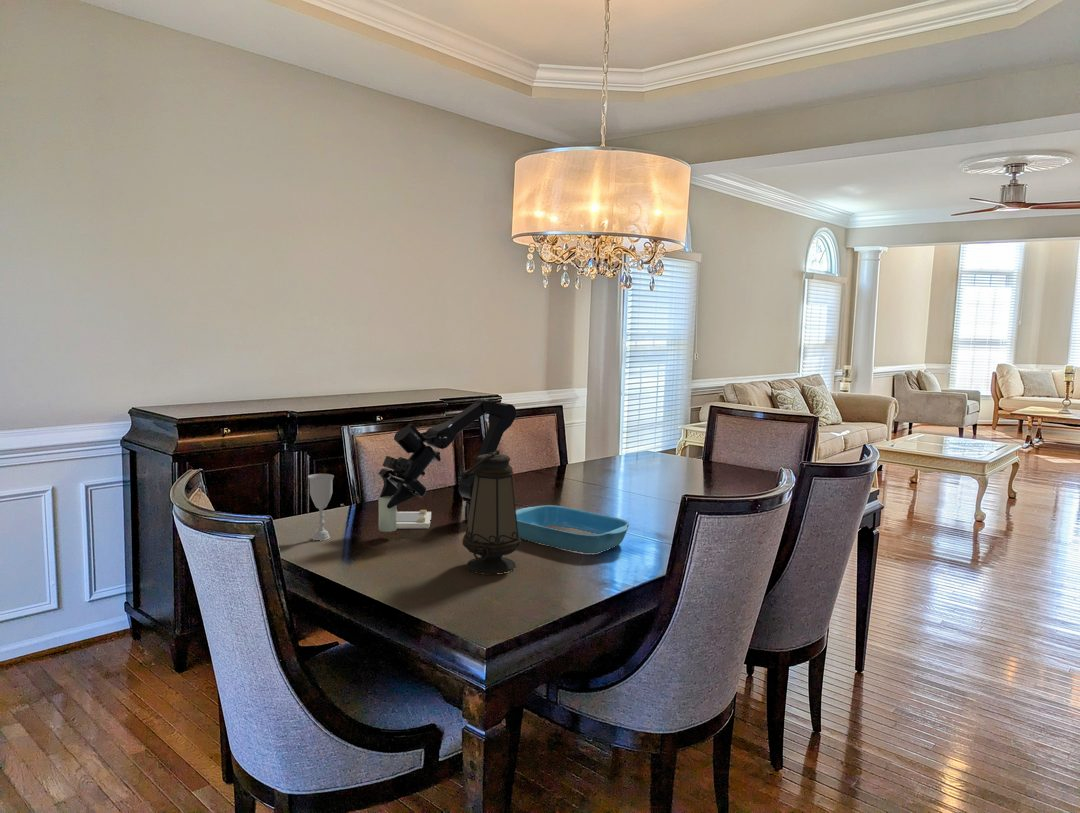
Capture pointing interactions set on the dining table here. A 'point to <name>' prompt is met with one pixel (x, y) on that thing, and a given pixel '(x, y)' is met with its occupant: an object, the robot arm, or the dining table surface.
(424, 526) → the display tile
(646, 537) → the dining table surface
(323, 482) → the chalice
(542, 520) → the casserole dish
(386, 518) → the sage green capsule
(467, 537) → the lantern
